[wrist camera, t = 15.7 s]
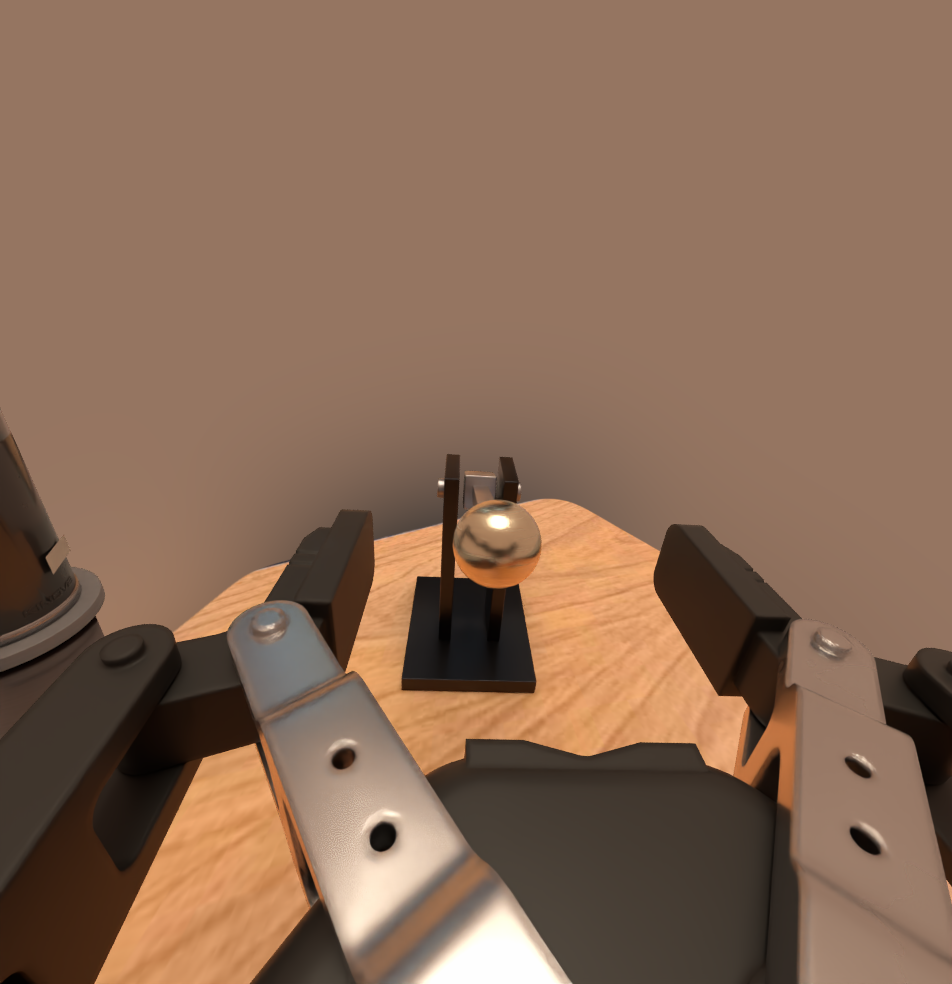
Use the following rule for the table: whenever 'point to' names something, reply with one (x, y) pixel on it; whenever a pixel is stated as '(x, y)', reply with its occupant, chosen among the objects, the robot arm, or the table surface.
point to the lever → (494, 536)
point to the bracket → (467, 615)
